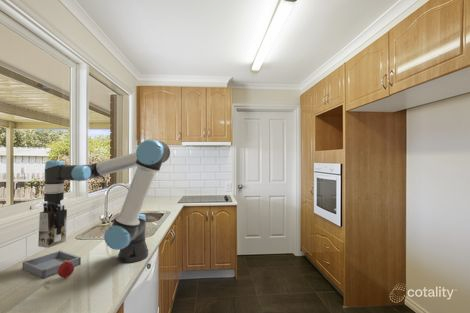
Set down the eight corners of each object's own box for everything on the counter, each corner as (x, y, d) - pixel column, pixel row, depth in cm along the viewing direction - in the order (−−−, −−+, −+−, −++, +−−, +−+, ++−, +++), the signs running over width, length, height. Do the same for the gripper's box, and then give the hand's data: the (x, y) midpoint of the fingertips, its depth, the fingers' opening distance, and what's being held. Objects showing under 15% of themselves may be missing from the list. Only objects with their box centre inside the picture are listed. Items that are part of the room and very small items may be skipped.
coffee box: (48, 248, 109) (49, 213, 109) (37, 246, 110) (38, 212, 111) (66, 241, 118) (67, 209, 118) (56, 240, 119) (57, 208, 120)
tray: (80, 264, 117) (80, 257, 117) (42, 278, 103) (43, 270, 103) (60, 257, 125) (60, 250, 125) (22, 269, 111) (22, 262, 111)
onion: (71, 273, 108) (71, 256, 108) (75, 277, 104) (76, 259, 104) (55, 278, 103) (56, 260, 103) (59, 283, 100) (60, 264, 100)
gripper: (74, 193, 113) (73, 240, 113) (51, 189, 122) (50, 234, 122) (57, 195, 107) (55, 245, 106) (34, 191, 116) (32, 238, 115)
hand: (52, 239), depth 114 cm, fingers closed on coffee box, 7 cm apart
